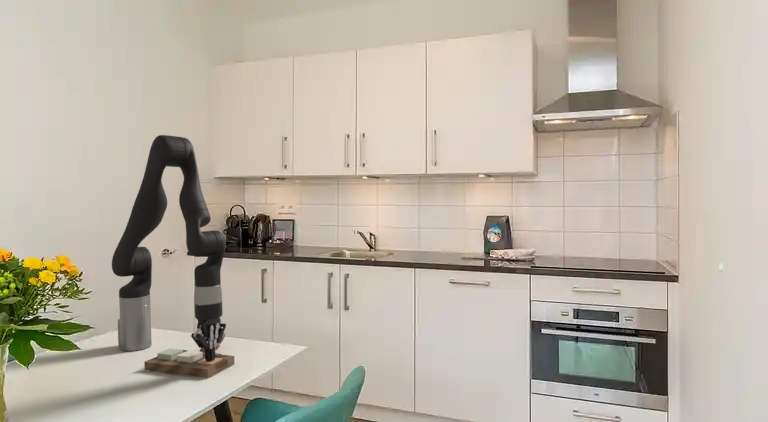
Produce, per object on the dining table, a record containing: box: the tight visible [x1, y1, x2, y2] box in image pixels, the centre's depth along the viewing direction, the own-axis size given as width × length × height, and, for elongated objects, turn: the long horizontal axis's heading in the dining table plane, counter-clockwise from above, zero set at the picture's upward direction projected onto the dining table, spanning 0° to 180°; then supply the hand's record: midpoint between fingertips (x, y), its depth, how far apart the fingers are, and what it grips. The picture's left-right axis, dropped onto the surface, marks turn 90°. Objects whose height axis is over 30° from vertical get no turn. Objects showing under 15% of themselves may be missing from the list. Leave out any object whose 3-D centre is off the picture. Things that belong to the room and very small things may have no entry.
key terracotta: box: [197, 358, 223, 365], centre depth 147 cm, size 5×5×2 cm
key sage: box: [156, 348, 184, 360], centre depth 152 cm, size 5×5×2 cm
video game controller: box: [199, 332, 226, 352], centre depth 166 cm, size 10×5×7 cm, turn 179°
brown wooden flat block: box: [143, 349, 235, 379], centre depth 150 cm, size 22×12×3 cm, turn 71°
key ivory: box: [177, 350, 203, 363], centre depth 150 cm, size 5×5×2 cm
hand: (210, 360), depth 147 cm, fingers closed
